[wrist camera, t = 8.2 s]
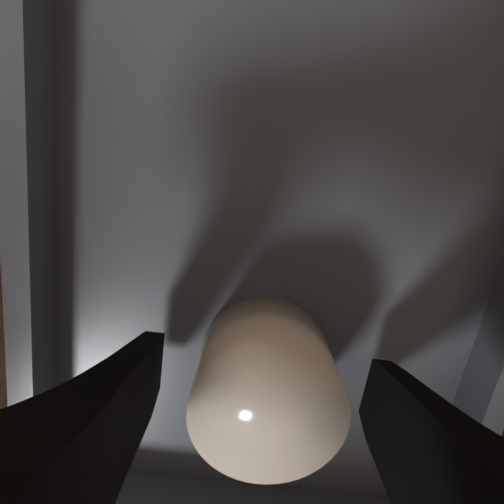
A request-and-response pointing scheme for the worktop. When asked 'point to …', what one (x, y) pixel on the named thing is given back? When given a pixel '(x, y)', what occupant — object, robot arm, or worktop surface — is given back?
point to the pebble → (266, 394)
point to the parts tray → (254, 202)
